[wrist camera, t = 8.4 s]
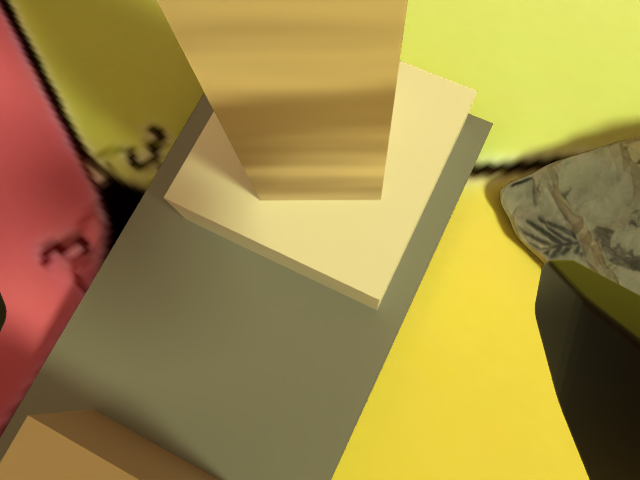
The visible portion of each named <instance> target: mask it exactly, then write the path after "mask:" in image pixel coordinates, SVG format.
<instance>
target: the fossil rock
mask: <svg viewBox="0 0 640 480" xmlns="http://www.w3.org/2000/svg"><path fill="white" fill-rule="evenodd" d="M500 199H501V204H502V207H503V209H504V210H505V212H506V214H507V216H508V218H509V219H510V222H511V225H512V228H513V230H514V232H515V233H516V235H517V236H518V238H519V239H520V240H521V242H522V243H523V244H524V245H525V246H526V247H527V248H528V249H529V250H530V251H531V252H532V253H534V254H535V255H536V256H537V257H538V258H539V259H540V261H541V262H542V263H543V264H544V263H545V262H546V261H548V260H574V261H576V262H578V263H580V264H582V265H583V266H585V267H587V268H589V269H591V270H593V271H595V272H597V273H599V274H600V275H602V276H604V277H606V278H608V279H610V280H612V281H614V282H616V283H618V284H619V285H621V286H623V287H625V288H627V289H629V290H631V291H633V292H635V293H636V294H638V295H640V137H638V138H634V139H629V140H624V141H619V142H615V143H612V144H609V145H607V146H604V147H600V148H597V149H595V150H591V151H588V152H584V153H581V154H578V155H575V156H571V157H568V158H565V159H562V160H559V161H556V162H553V163H551V164H549V165H546V166H544V167H543V168H541V169H539V170H538V171H536V172H534V173H533V174H531V175H528V176H525V177H522V178H519V179H516V180H514V181H511V182H510V183H508V184H507V185H505V186H504V187H503V188H502V189H501V190H500Z"/></svg>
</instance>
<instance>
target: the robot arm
mask: <svg viewBox="0 0 640 480" xmlns="http://www.w3.org/2000/svg"><path fill="white" fill-rule="evenodd" d="M535 315H536V320H537V324H538V328H539V332H540V335H541V339H542V343H543V347H544V351H545V354H546V358H547V362H548V366H549V369H550V373H551V377H552V381H553V384H554V388H555V391H556V395H557V398H558V401H559V404H560V407H561V409H562V412H563V415H564V417H565V420H566V422H567V425H568V427H569V430H570V432H571V435H572V437H573V440H574V442H575V445H576V447H577V450H578V452H579V454H580V457H581V459H582V462H583V464H584V467H585V469H586V472H587V474H588V477H589V479H590V480H640V295H638V294H636V293H635V292H633V291H631V290H629V289H627V288H625V287H623V286H621V285H619V284H618V283H616V282H614V281H612V280H610V279H608V278H606V277H604V276H602V275H600V274H599V273H597V272H595V271H593V270H591V269H589V268H587V267H585V266H583V265H582V264H580V263H578V262H576V261H574V260H548V261H546V262H545V263H544V265H543V267H542V271H541V276H540V281H539V286H538V292H537V297H536V302H535ZM5 319H6V306H5V303H4V301H3V298H2V296H1V293H0V331H1V329H2V327H3V324H4V322H5Z"/></svg>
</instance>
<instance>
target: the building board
mask: <svg viewBox="0 0 640 480" xmlns="http://www.w3.org/2000/svg"><path fill="white" fill-rule="evenodd" d="M476 94H477V91H476V90H474V89H471V88H468V87H466V86H463V85H461V84H458V83H456V82H453V81H450V80H448V79H445V78H443V77H440V76H438V75H435V74H433V73H430V72H427V71H425V70H422V69H420V68H417V67H415V66H412V65H410V64H407V63H404V62H402V61H400V62H399V69H398V77H397V84H396V91H395V99H394V106H393V114H392V121H391V129H390V136H389V143H388V151H387V158H386V166H385V173H384V180H383V188H382V195H381V200H260V199H259V197H258V195H257V193H256V191H255V189H254V187H253V185H252V183H251V182H250V180H249V178H248V176H247V174H246V172H245V170H244V168H243V166H242V164H241V162H240V160H239V158H238V156H237V155H236V153H235V151H234V149H233V147H232V145H231V143H230V141H229V139H228V137H227V135H226V133H225V131H224V129H223V128H222V126H221V124H220V122H219V120H218V118H217V116H216V114H215V112H214V110H213V108H212V106H211V104H210V102H209V101H208V99H207V97H206V95H205V93H204V94H203V96H202V97H201V99H200V101H199V102H198V104H197V106H196V107H195V109H194V111H193V113H192V114H191V116H190V118H189V119H188V121H187V123H186V124H185V126H184V128H183V129H182V131H181V133H180V135H179V136H178V138H177V140H176V141H175V143H174V145H173V146H172V148H171V150H170V151H169V153H168V155H167V156H166V158H165V160H164V162H163V163H162V165H161V167H160V168H159V170H158V172H157V173H156V175H155V177H154V178H153V180H152V182H151V184H150V185H149V187H148V189H147V190H146V192H145V194H144V195H143V197H142V199H141V200H140V202H139V204H138V206H137V207H136V209H135V211H134V212H133V214H132V216H131V217H130V219H129V221H128V222H127V224H126V226H125V228H124V229H123V231H122V233H121V234H120V236H119V238H118V239H117V241H116V243H115V244H114V246H113V248H112V250H111V251H110V253H109V255H108V256H107V258H106V260H105V261H104V263H103V265H102V266H101V268H100V270H99V271H98V273H97V275H96V277H95V278H94V280H93V282H92V283H91V285H90V287H89V288H88V290H87V292H86V293H85V295H84V297H83V299H82V300H81V302H80V304H79V305H78V307H77V309H76V310H75V312H74V314H73V315H72V317H71V319H70V321H69V322H68V324H67V326H66V327H65V329H64V331H63V332H62V334H61V336H60V337H59V339H58V341H57V343H56V344H55V346H54V348H53V349H52V351H51V353H50V354H49V356H48V358H47V359H46V361H45V363H44V365H43V366H42V368H41V370H40V371H39V373H38V375H37V376H36V378H35V380H34V381H33V383H32V385H31V386H30V388H29V390H28V392H27V393H26V395H25V397H24V398H23V400H22V402H21V403H20V405H19V407H18V408H17V410H16V412H15V414H14V415H13V417H12V419H11V420H10V422H9V424H8V425H7V427H6V429H5V430H4V432H3V434H2V436H1V437H0V480H331V479H332V476H333V474H334V472H335V470H336V468H337V465H338V463H339V461H340V459H341V457H342V454H343V452H344V450H345V448H346V446H347V443H348V441H349V439H350V437H351V435H352V432H353V430H354V428H355V426H356V424H357V421H358V419H359V417H360V415H361V413H362V410H363V408H364V406H365V404H366V402H367V400H368V397H369V395H370V393H371V391H372V389H373V386H374V384H375V382H376V380H377V378H378V375H379V373H380V371H381V369H382V367H383V364H384V362H385V360H386V358H387V356H388V353H389V351H390V349H391V347H392V345H393V342H394V340H395V338H396V336H397V334H398V331H399V329H400V327H401V325H402V323H403V320H404V318H405V316H406V314H407V312H408V309H409V307H410V305H411V303H412V301H413V298H414V296H415V294H416V292H417V290H418V287H419V285H420V283H421V281H422V279H423V276H424V274H425V272H426V270H427V268H428V266H429V263H430V261H431V259H432V257H433V255H434V252H435V250H436V248H437V246H438V244H439V241H440V239H441V237H442V235H443V233H444V230H445V228H446V226H447V224H448V222H449V219H450V217H451V215H452V213H453V211H454V208H455V206H456V204H457V202H458V200H459V197H460V195H461V193H462V191H463V189H464V186H465V184H466V182H467V180H468V178H469V175H470V173H471V171H472V169H473V167H474V164H475V162H476V160H477V158H478V156H479V153H480V151H481V149H482V147H483V145H484V142H485V140H486V138H487V136H488V134H489V132H490V129H491V127H492V125H493V123H491V122H488V121H486V120H483V119H481V118H478V117H476V116H473V115H471V114H468V113H469V111H470V108H471V106H472V103H473V101H474V99H475V96H476Z"/></svg>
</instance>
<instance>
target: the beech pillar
mask: <svg viewBox="0 0 640 480" xmlns="http://www.w3.org/2000/svg"><path fill="white" fill-rule="evenodd" d="M157 2H158V4H159V6H160V8H161V10H162V12H163V14H164V16H165V18H166V20H167V21H168V23H169V25H170V27H171V29H172V31H173V33H174V35H175V37H176V39H177V41H178V43H179V45H180V47H181V48H182V50H183V52H184V54H185V56H186V58H187V60H188V62H189V64H190V66H191V68H192V70H193V72H194V74H195V75H196V77H197V79H198V81H199V83H200V85H201V87H202V89H203V91H204V93H205V95H206V97H207V99H208V101H209V102H210V104H211V106H212V108H213V110H214V112H215V114H216V116H217V118H218V120H219V122H220V124H221V126H222V128H223V129H224V131H225V133H226V135H227V137H228V139H229V141H230V143H231V145H232V147H233V149H234V151H235V153H236V155H237V156H238V158H239V160H240V162H241V164H242V166H243V168H244V170H245V172H246V174H247V176H248V178H249V180H250V182H251V183H252V185H253V187H254V189H255V191H256V193H257V195H258V197H259V199H260V200H381V195H382V188H383V180H384V173H385V166H386V158H387V151H388V143H389V136H390V129H391V121H392V114H393V106H394V99H395V91H396V84H397V77H398V69H399V62H400V54H401V47H402V40H403V32H404V25H405V17H406V10H407V2H408V0H157Z"/></svg>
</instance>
